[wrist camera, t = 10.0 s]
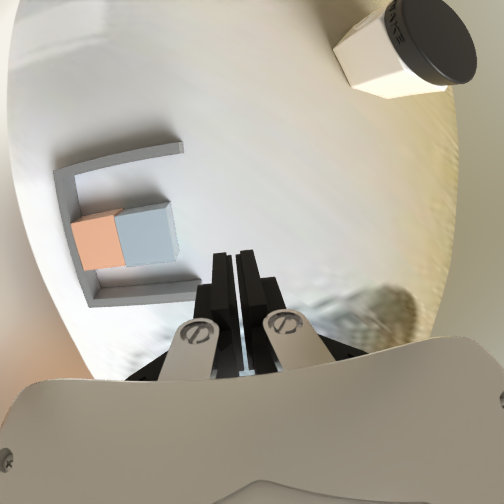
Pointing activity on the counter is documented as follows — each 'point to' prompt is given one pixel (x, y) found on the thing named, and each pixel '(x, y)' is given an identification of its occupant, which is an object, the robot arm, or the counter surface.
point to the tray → (89, 277)
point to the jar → (407, 50)
